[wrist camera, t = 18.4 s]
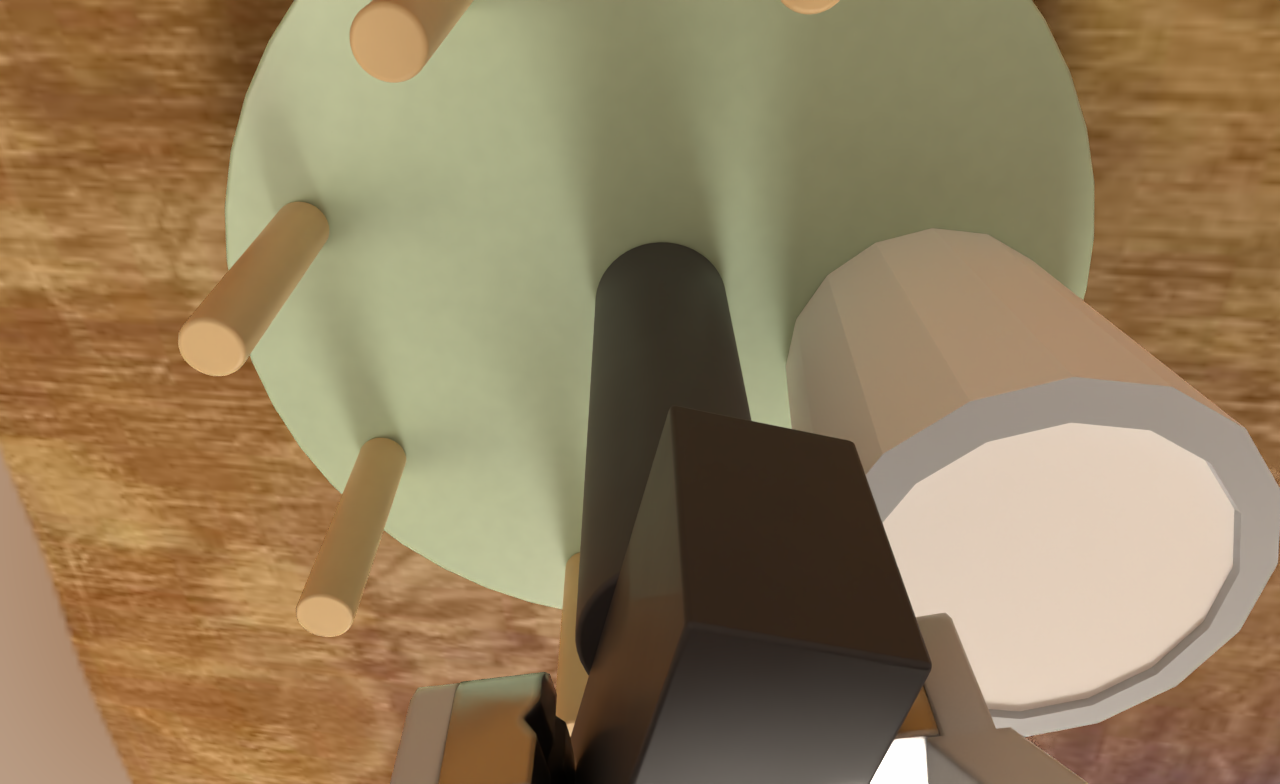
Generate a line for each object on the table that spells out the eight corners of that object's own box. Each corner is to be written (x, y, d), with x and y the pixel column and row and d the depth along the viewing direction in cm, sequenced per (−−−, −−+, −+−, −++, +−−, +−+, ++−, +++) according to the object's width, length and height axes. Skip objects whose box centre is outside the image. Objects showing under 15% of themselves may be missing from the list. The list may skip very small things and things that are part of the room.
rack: (897, 647, 26) (1115, 1324, 14) (223, 529, 24) (-156, 1216, 12) (1248, -45, 18) (2417, 254, 6) (258, -325, 15) (-816, -678, 4)
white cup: (758, 502, 23) (806, 758, 17) (752, 211, 19) (810, 401, 13) (1068, 481, 22) (1230, 732, 16) (1117, 182, 19) (1348, 362, 13)
